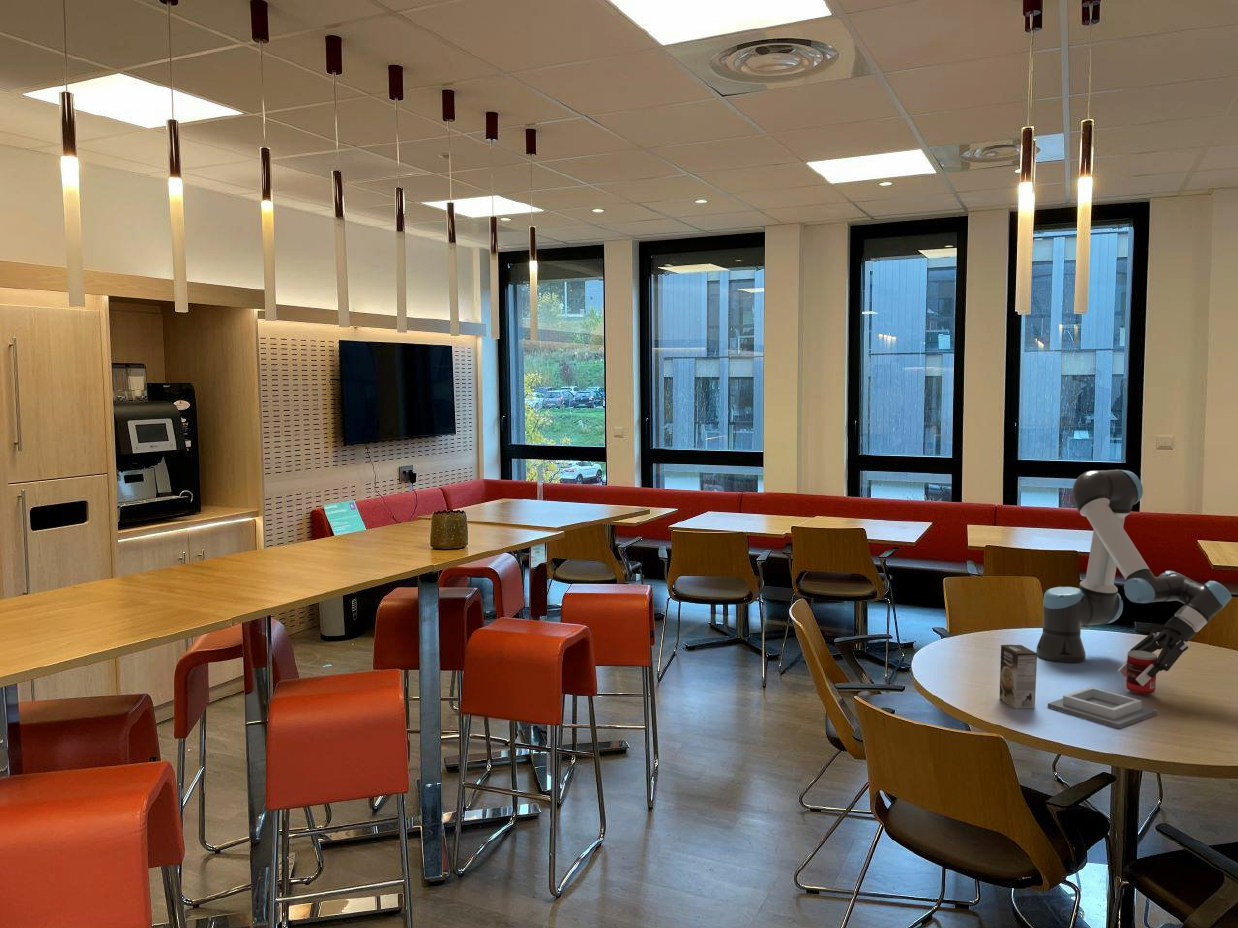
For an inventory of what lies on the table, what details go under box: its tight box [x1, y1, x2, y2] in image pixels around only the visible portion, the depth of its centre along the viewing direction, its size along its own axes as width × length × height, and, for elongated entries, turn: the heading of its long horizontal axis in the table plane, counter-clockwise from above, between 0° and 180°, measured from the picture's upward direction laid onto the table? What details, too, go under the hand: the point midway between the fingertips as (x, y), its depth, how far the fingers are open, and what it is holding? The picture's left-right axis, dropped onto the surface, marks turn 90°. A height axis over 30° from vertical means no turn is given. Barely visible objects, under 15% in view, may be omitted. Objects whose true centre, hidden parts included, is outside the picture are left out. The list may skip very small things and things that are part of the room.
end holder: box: [1047, 686, 1158, 730], centre depth 254 cm, size 20×20×4 cm
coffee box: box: [999, 644, 1038, 709], centre depth 260 cm, size 9×6×16 cm
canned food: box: [1125, 650, 1158, 695], centre depth 269 cm, size 8×8×11 cm
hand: (1130, 677), depth 269 cm, fingers closed on canned food, 8 cm apart
